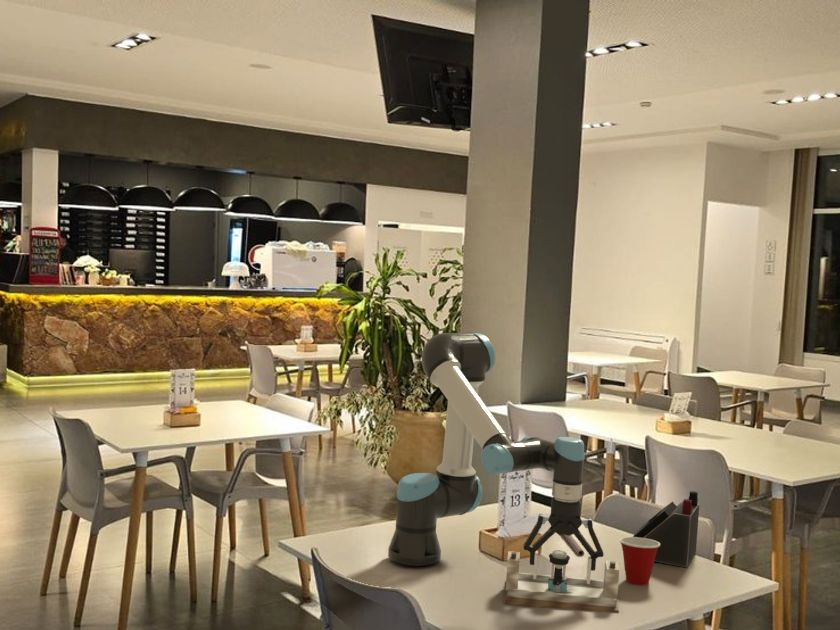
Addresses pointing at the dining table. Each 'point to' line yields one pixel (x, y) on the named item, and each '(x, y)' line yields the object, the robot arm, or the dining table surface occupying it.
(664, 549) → the dark desk organizer
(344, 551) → the dining table surface
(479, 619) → the dining table surface
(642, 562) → the plastic cup
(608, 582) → the board
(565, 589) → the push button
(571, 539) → the metal rod
